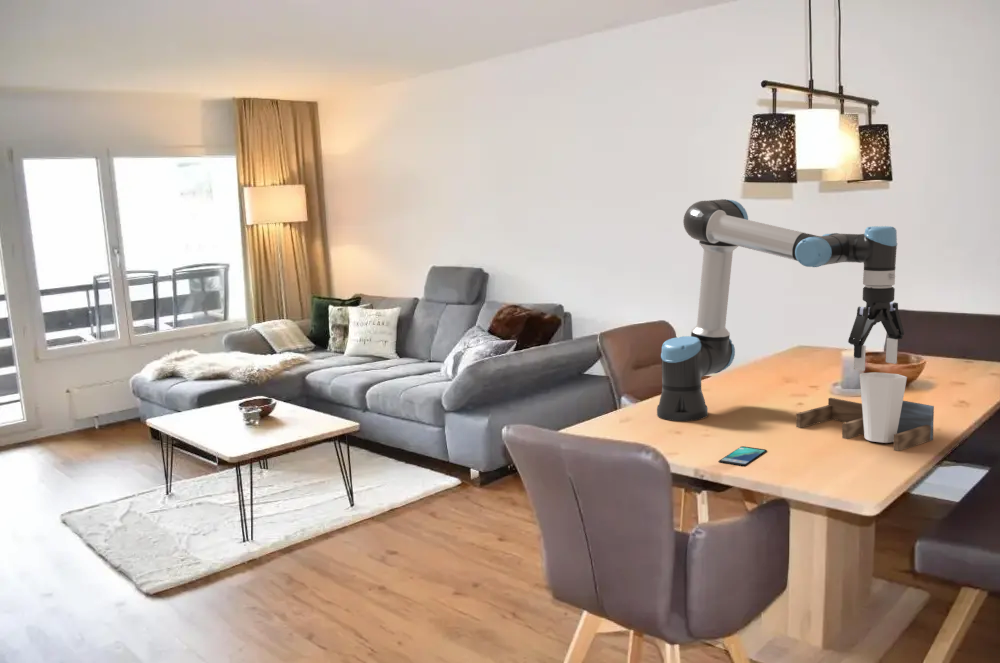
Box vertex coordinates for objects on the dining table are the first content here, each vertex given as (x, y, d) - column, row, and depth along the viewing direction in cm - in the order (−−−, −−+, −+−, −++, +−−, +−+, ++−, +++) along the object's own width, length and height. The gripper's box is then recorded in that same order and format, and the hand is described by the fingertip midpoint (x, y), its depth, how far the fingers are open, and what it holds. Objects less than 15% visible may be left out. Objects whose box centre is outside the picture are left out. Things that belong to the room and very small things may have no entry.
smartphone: (717, 461, 204) (741, 445, 216) (717, 464, 205) (741, 448, 216) (744, 465, 200) (768, 449, 211) (744, 468, 200) (768, 452, 212)
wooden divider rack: (898, 451, 206) (898, 416, 205) (796, 427, 232) (796, 396, 230) (932, 439, 214) (933, 406, 212) (830, 417, 240) (831, 387, 238)
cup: (853, 440, 214) (855, 375, 212) (860, 433, 222) (863, 371, 221) (900, 446, 208) (903, 379, 206) (906, 439, 216) (909, 374, 214)
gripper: (861, 291, 204) (858, 375, 207) (921, 283, 217) (917, 362, 220) (835, 289, 210) (832, 370, 214) (894, 281, 223) (891, 357, 226)
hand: (875, 366), depth 217 cm, fingers open, 13 cm apart
